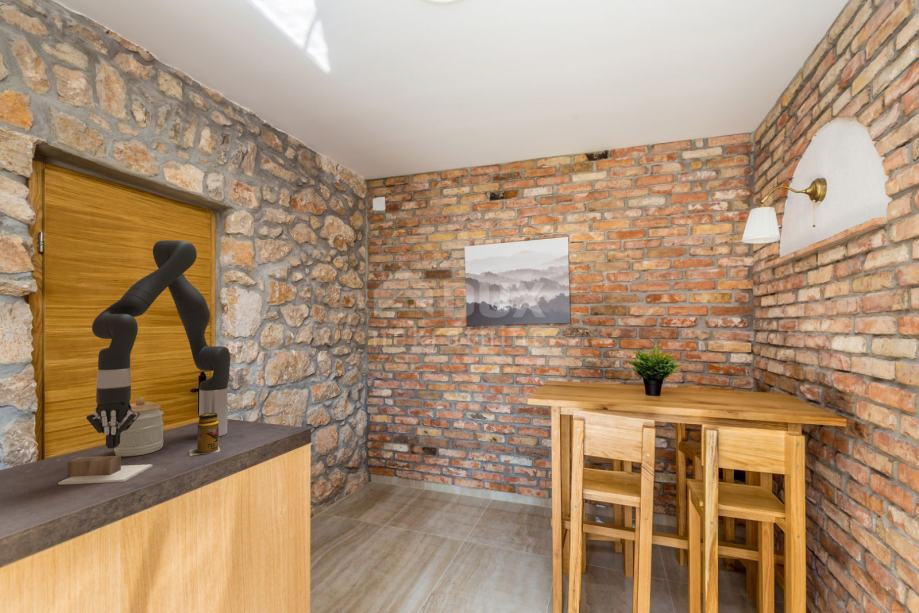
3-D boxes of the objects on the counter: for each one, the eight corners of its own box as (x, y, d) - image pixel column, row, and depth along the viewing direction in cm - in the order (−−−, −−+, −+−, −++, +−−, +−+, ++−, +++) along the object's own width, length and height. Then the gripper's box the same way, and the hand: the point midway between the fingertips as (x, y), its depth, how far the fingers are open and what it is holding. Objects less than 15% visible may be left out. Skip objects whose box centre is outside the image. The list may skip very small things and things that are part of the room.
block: (120, 469, 120) (79, 471, 119) (121, 455, 120) (79, 457, 119) (110, 475, 116) (67, 476, 115) (110, 460, 116) (67, 461, 115)
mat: (93, 468, 123) (93, 466, 123) (152, 466, 124) (152, 464, 124) (58, 484, 111) (58, 482, 111) (123, 481, 112) (124, 479, 112)
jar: (103, 455, 135) (104, 400, 136) (144, 444, 148) (145, 393, 148) (133, 458, 132) (134, 401, 132) (172, 446, 144) (173, 394, 145)
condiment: (220, 451, 138) (220, 414, 139) (189, 456, 134) (190, 418, 134) (218, 446, 144) (219, 411, 145) (189, 450, 140) (189, 414, 140)
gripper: (147, 382, 123) (146, 442, 122) (98, 383, 122) (97, 444, 121) (130, 386, 115) (129, 450, 115) (77, 387, 114) (76, 452, 113)
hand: (112, 447), depth 118 cm, fingers closed
